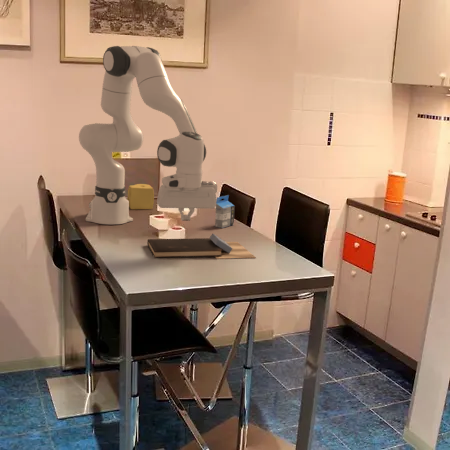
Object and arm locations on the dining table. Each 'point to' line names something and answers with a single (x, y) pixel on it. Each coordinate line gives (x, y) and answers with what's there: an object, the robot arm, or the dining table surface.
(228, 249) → the blue-grey flat block
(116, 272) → the dining table surface
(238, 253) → the mat
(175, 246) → the hardcover book
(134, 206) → the cheese
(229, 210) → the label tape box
